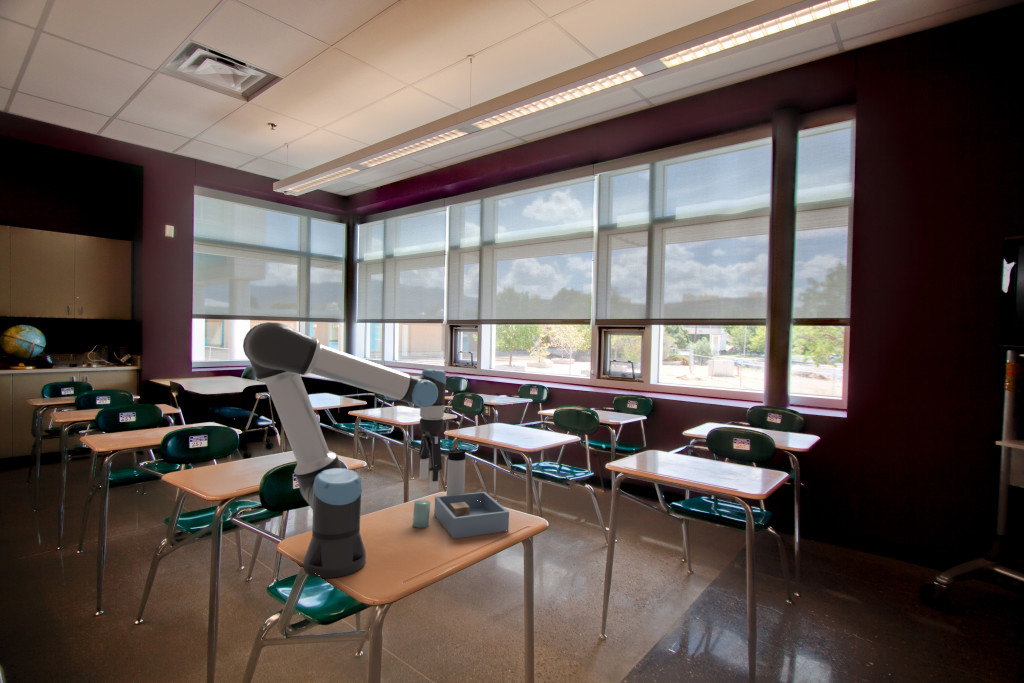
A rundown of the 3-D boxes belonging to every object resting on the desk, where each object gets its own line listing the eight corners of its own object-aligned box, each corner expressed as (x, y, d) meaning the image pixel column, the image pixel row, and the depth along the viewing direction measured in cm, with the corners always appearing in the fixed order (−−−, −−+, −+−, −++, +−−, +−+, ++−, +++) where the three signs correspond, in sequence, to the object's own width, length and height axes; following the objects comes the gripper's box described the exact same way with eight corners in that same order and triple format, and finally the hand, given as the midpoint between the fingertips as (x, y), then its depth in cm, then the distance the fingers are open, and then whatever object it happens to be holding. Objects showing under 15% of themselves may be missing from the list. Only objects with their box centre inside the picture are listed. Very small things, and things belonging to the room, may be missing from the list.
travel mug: (463, 508, 171) (465, 451, 171) (444, 507, 171) (446, 450, 171) (465, 502, 177) (467, 447, 177) (447, 501, 177) (449, 446, 177)
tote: (453, 538, 145) (453, 518, 145) (434, 514, 164) (434, 496, 164) (508, 530, 153) (509, 511, 153) (484, 508, 172) (484, 491, 172)
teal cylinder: (417, 528, 151) (419, 506, 151) (409, 523, 155) (411, 501, 155) (431, 526, 155) (433, 503, 155) (423, 520, 158) (425, 499, 158)
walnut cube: (454, 524, 154) (454, 508, 154) (449, 518, 158) (449, 503, 158) (469, 522, 156) (469, 506, 156) (464, 517, 160) (464, 501, 160)
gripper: (454, 424, 145) (450, 495, 145) (433, 411, 168) (430, 473, 168) (429, 424, 142) (425, 497, 142) (412, 412, 165) (408, 474, 165)
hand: (428, 484), depth 155 cm, fingers open, 13 cm apart
